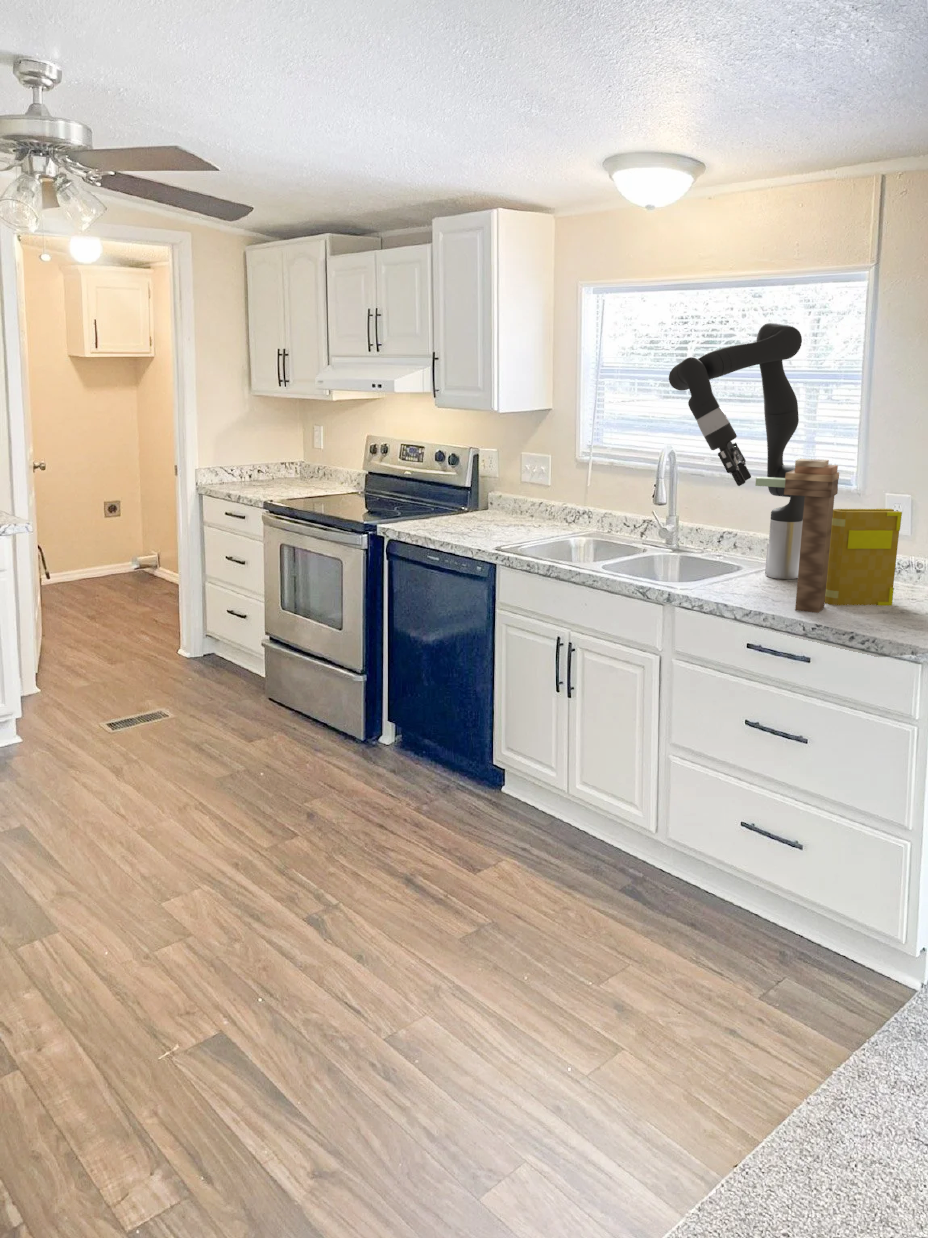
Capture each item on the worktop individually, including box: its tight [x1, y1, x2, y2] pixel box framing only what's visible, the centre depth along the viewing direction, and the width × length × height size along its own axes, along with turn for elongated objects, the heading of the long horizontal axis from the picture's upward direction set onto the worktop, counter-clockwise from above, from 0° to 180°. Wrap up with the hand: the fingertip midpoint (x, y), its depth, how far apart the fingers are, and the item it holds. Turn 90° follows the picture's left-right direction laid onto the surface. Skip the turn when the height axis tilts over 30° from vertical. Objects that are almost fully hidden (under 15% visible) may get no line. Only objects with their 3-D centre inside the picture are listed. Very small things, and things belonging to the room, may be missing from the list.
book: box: [825, 508, 903, 607], centre depth 278 cm, size 17×7×25 cm, turn 92°
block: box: [754, 476, 786, 488], centre depth 269 cm, size 18×4×2 cm, turn 61°
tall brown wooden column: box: [784, 458, 840, 614], centre depth 270 cm, size 12×9×39 cm
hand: (745, 481), depth 279 cm, fingers open, 8 cm apart
